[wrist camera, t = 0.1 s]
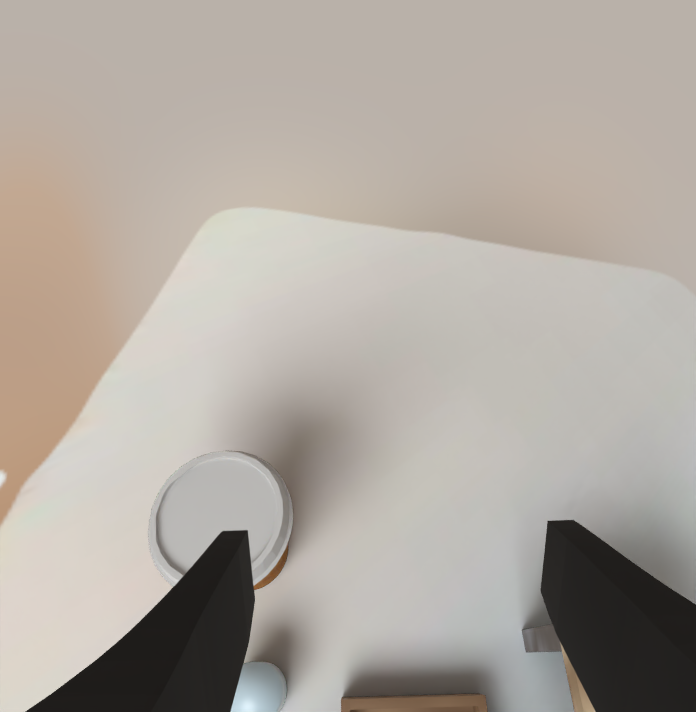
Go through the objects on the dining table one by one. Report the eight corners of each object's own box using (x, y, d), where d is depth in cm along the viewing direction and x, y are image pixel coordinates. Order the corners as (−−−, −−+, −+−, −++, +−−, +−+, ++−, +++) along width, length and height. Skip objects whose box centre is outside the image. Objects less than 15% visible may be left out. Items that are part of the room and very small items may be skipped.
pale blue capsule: (285, 722, 37) (278, 728, 33) (233, 723, 37) (220, 730, 33) (287, 661, 39) (280, 660, 35) (237, 662, 39) (225, 662, 35)
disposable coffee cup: (297, 483, 46) (278, 431, 35) (316, 597, 41) (302, 575, 31) (190, 506, 45) (140, 460, 34) (197, 626, 40) (141, 614, 30)
